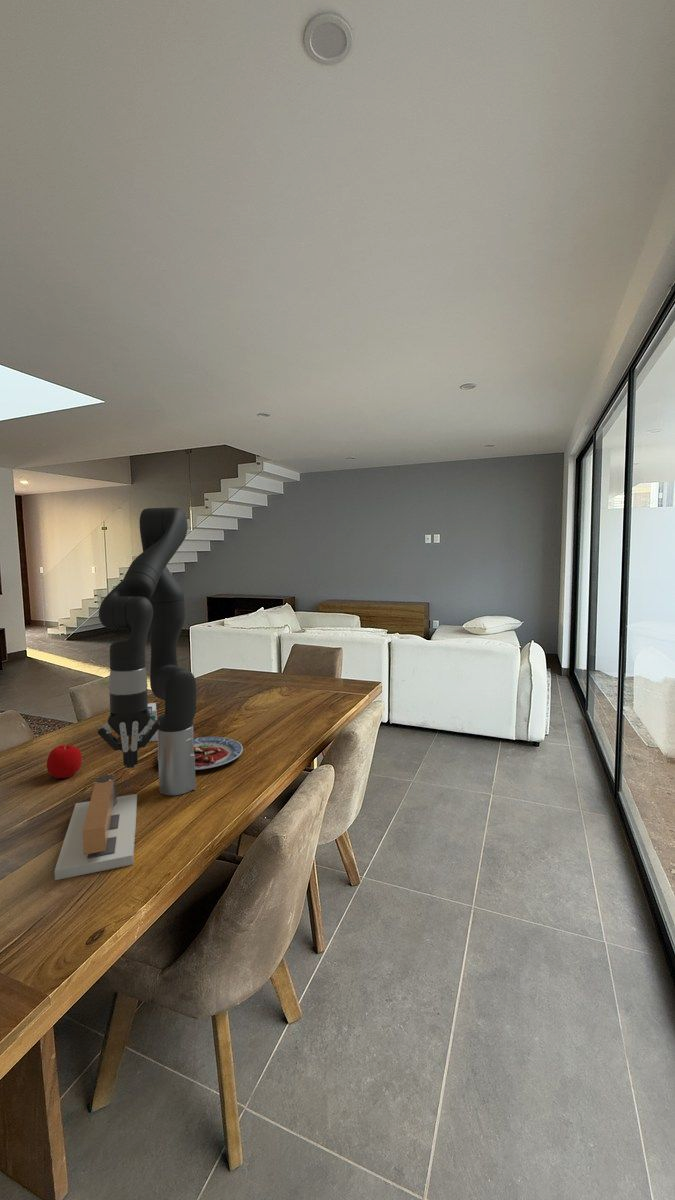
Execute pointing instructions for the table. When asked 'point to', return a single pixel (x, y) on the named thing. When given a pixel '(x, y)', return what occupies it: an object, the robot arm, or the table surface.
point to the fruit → (64, 761)
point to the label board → (117, 843)
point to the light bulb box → (153, 715)
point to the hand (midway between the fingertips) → (130, 766)
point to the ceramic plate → (215, 751)
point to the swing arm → (99, 815)
